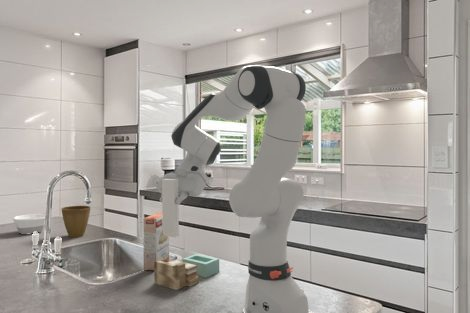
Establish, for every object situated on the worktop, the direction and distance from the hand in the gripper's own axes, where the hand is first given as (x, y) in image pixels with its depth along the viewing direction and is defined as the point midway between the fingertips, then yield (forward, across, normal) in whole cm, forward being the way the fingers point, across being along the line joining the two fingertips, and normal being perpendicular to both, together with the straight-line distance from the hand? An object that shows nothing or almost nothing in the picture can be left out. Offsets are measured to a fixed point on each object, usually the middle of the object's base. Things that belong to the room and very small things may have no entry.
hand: (169, 202), depth 130 cm
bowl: (+12, -128, +29) cm, 132 cm away
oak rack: (+20, 0, +21) cm, 29 cm away
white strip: (+8, 0, +9) cm, 12 cm away
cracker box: (+12, -20, +30) cm, 38 cm away
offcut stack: (+17, 0, +24) cm, 30 cm away
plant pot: (+5, -96, +36) cm, 103 cm away
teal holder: (+9, 0, +32) cm, 34 cm away
